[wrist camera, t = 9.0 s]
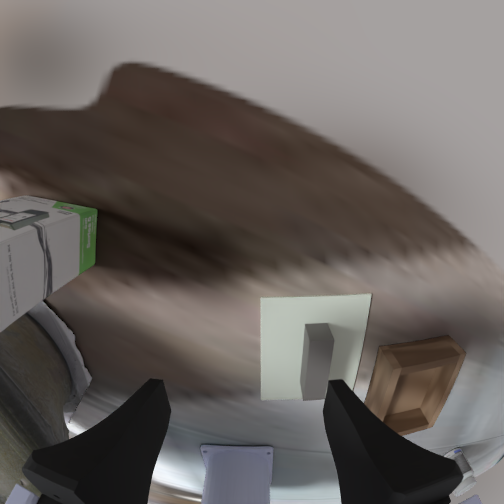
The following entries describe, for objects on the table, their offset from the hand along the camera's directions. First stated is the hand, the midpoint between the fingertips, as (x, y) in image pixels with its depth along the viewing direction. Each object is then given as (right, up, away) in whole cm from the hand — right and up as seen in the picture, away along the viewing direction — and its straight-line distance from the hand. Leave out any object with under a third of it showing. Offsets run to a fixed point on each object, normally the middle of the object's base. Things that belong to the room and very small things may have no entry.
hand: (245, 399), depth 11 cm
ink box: (-16, +8, +9) cm, 20 cm away
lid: (+5, -2, +12) cm, 13 cm away
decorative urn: (-26, -5, +13) cm, 29 cm away
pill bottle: (+33, -27, +18) cm, 46 cm away
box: (+15, -7, +12) cm, 21 cm away
